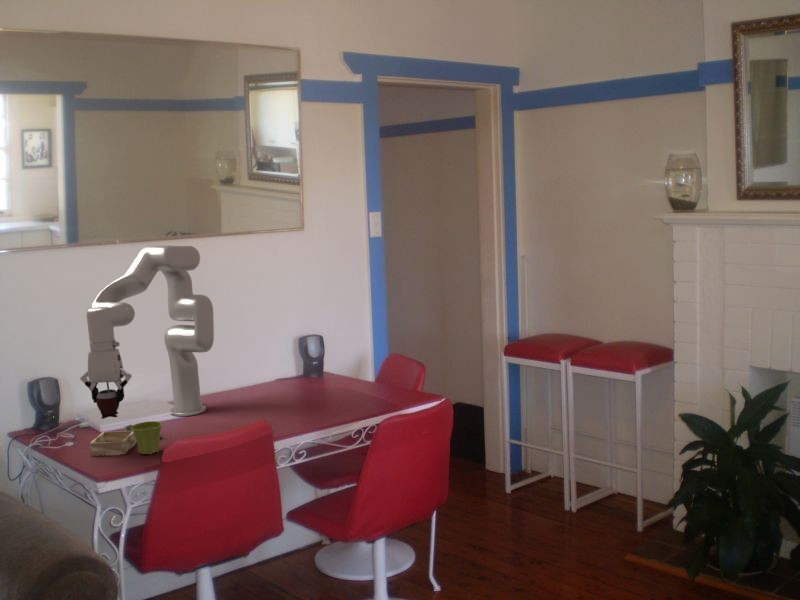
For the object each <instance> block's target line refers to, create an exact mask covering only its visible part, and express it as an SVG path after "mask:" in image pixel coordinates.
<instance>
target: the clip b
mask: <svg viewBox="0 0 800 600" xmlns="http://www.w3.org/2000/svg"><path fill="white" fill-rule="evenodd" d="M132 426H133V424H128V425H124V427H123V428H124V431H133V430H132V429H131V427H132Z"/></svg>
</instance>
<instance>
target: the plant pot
mask: <svg viewBox="0 0 800 600" xmlns="http://www.w3.org/2000/svg"><path fill="white" fill-rule="evenodd" d="M162 426H163V423H162V422H161V421H154V420H152V421H143V422H138V423H135V424H132V427H131V429H132V430H133V433H134V434H135V438H136V442H137V443H136V445H137V449H138V453H139V454H140V453H141V454H140V455H142V454H150V455H152V454H151V453H153V454H154V453H155V452H157V453H159V451H160V445H161V444H160V443H161V442H160V441H161V438H160V435H161V430H162Z"/></svg>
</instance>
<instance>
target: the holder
mask: <svg viewBox="0 0 800 600" xmlns="http://www.w3.org/2000/svg"><path fill="white" fill-rule="evenodd" d="M135 445H137V442H136V438H135V434H134V433H133V431H125V430H119V431H118V430H116V431H114V430H113V431H102V432H101V433H100V434H99V435H97V436H96V437H95V438H94V439H93V440H91V442H90V443H89V453H90V457H98V456H100V455H102V456H104V455H105V456H121V455H120V454H125V453H126V452H127V451H128V450H129V449H130V450H131V449H132V448H133V447H134V446H135ZM130 450H129V451H130ZM129 451H128V452H129ZM128 452H127V453H128ZM127 453H126V454H127ZM126 454H125V455H126ZM102 456H101V457H102Z"/></svg>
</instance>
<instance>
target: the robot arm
mask: <svg viewBox="0 0 800 600" xmlns="http://www.w3.org/2000/svg"><path fill="white" fill-rule="evenodd" d="M200 261H201V256H200V253H199V250H198V249H197V248H196V247H195V246H192V245H148V246H144V247H142V248H141V249H140V250H139V252H138V253H137V254H136V256H135V258H134V260H133V261H132V262H131V264H130V265H129V267H128V268H127V270H126V272H125V273H124V274H123V275H122V276H121V277H119V278H117V279H116V280H114V281H112V282H111V283H109V284H108V285H106V287H104V288H103V289H102V290H100V292H99V293H98V294H97V296H96V297H95V299H94V300H93V302H92V304H91V305H90V308H89V309H87V310H86V322H87V330H88V331H87V332H88V333H87V334H88V338H89V339H88V340H89V348H90V349H89V351H88V354H87V355H88V356H87V371H86V372H85V373H84V374H82V375H81V376H80V381H81V382H82V383H83V384H84V385H85V386H86V387H87V388H88V390H89V391H90V392H91V399H92V401H93V403H94V404H95V403H96V399H97V395H98V393H99V392H100V390H99V388H98V387H97V386H98V384H99V383H106V382H108V383H114V384H115V386H116V387H117V389H116V391H117V399H118V402H120V403H121V402H122V401H123V400H124V398H125V386H127V384H128V383H129V382H130V380H131V379H132V377H133V376H132V374H131V373H130V372H128V371H126V370H125V369H124V366H123V361H122V356H121V353H120V351H119V350H120V349H119V348H117V347H120V342H119V341H116V339H115V331H114V328H116V327H117V328H118V327H124V326H128V325H129V324H131V323H132V322H133V321H134V319H135V316H136V315H135V309H134V307H133V306H132V305H131V304H129V303H127V302H121V301H123V300H125V299H128V298H131V297H134V296H137V295H140V294H142V293H144V292H145V291H146V290H148V288H149V286H150V285H151V283H152V282H153V280H154V278H155V276H156V275H157V273H158V272H161V273H162V274H163V275H164V277H165V280H166V284H167V308H168V315H169V318H171V320H173V321H176V322H177V321H178V322H193V323H194V324H193V325H191V324H176V325H173V326H172V325H171V326H170V327H168V328H167V330H166V331H165V333H164V337H163V339H164V344H165V347H166V350H167V354H168V360H169V367H170V375H171V376H170V379H171V386H172V387H171V389H172V397H173V407H171V409H170V410H169V412H170V411H171V412H172V413H173V415H172V416H175V417H188V416H189V417H190V416H194V415H198V414H201V413H204V412H205V411H206V410H207V406H206V405H205V404H203V403H202V399H201V397H202V396H201V388H200V376H199V367H198V366H199V365H198V360H197V357H196V355H195V354H194V353H208V352H209V351H211V349H212V347H213V345H214V339H215V331H214V330H215V329H214V327H215V326H214V325H215V324H214V306H213V303H212V300H211V299H210V298H209V297H208V296H207V295H204V294H194V292H193V281H192V277H191V275H190V273H189V272H188V271H194V270H196V269H197V267H198V266H199V264H200ZM123 378H124V379H123ZM122 379H123V380H122ZM96 404H97V403H96Z"/></svg>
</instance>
